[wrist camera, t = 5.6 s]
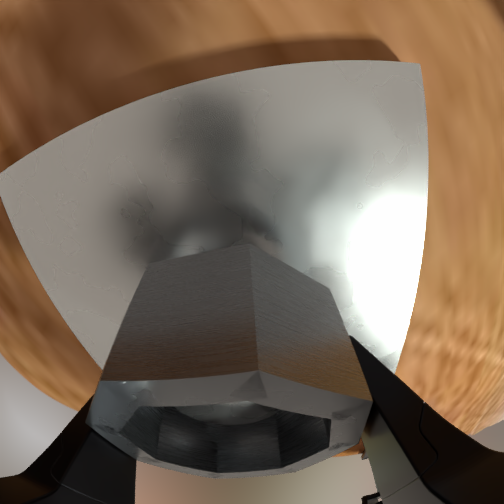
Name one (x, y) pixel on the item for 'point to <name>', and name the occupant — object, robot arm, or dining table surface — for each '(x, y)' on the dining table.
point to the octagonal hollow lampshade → (231, 368)
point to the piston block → (237, 196)
